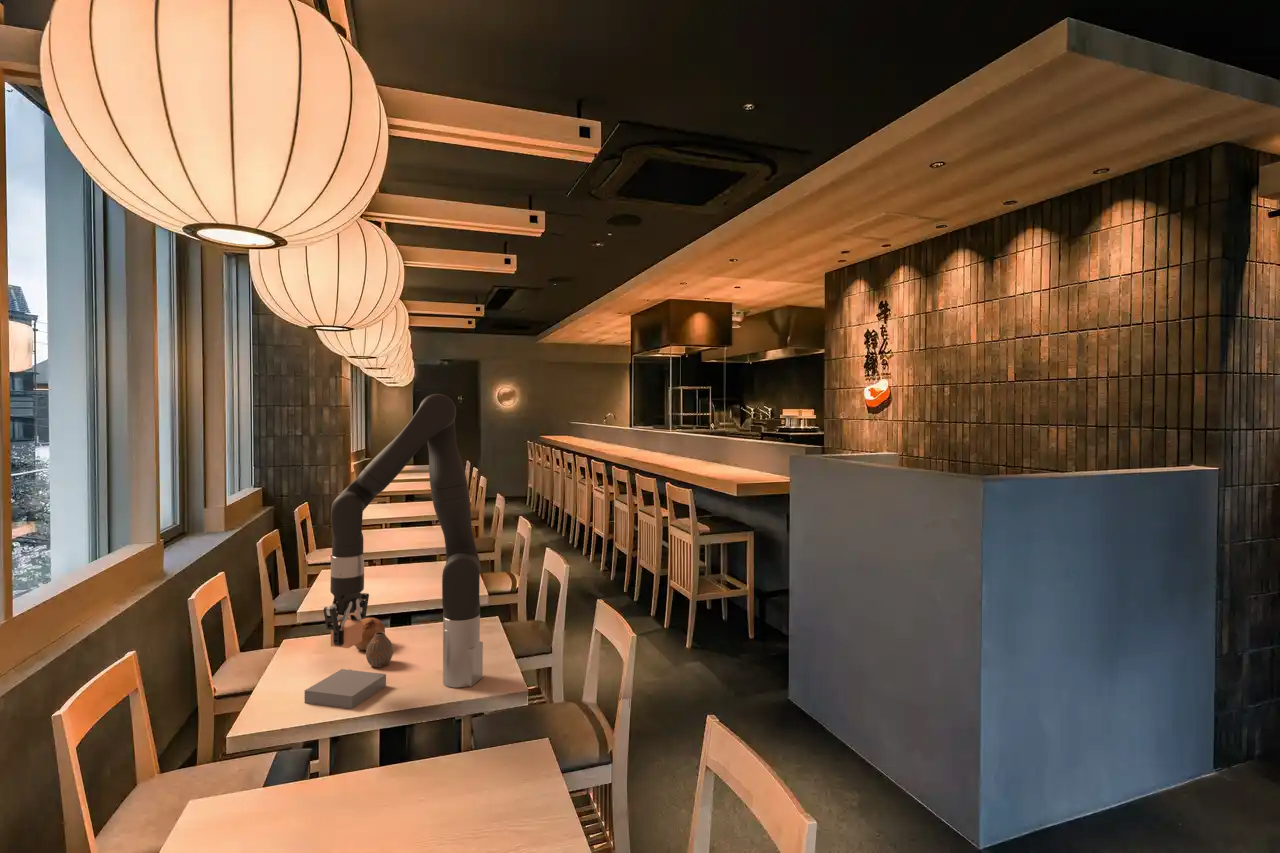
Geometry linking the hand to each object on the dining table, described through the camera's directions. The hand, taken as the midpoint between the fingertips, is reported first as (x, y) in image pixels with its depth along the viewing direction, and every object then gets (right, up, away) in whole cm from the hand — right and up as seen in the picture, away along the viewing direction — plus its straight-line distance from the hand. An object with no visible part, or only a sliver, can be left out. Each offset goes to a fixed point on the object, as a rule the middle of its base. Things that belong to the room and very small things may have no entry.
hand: (346, 640), depth 153 cm
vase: (0, -13, +18) cm, 23 cm away
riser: (0, -13, 0) cm, 13 cm away
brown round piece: (-8, -13, +31) cm, 34 cm away
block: (0, -1, 0) cm, 1 cm away
